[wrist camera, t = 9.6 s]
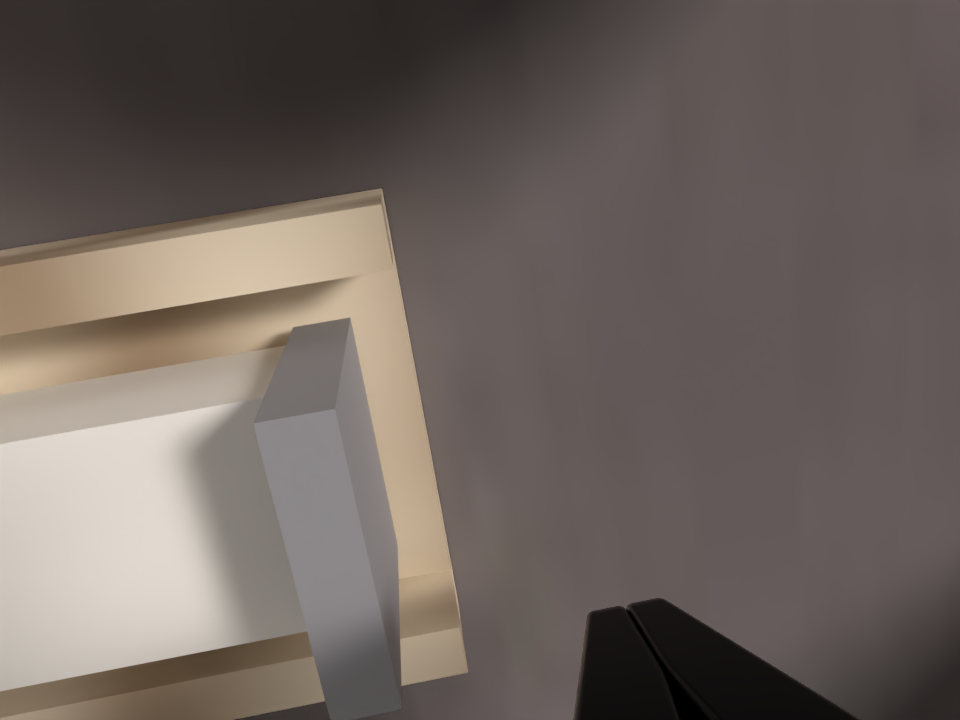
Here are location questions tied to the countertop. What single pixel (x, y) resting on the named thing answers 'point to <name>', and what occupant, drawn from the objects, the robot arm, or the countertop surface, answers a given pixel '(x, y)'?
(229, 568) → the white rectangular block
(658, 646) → the robot arm
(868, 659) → the countertop surface
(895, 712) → the countertop surface
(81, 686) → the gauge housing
